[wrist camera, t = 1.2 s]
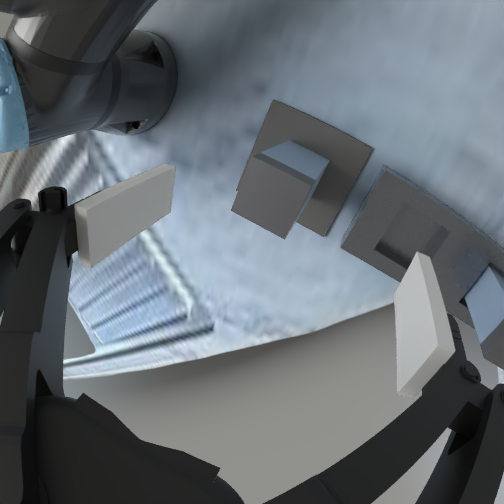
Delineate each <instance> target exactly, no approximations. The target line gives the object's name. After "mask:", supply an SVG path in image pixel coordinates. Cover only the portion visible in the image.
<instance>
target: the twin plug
mask: <svg viewBox="0 0 504 504" xmlns="http://www.w3.org/2000/svg"><path fill="white" fill-rule="evenodd" d="M464 297H465V300H466V303H467V306H468V308H469V311H470V314H471V317H472V320H473V323H474V326H475V329H476V332H477V336H478V339H479V342H480V346H481V349H482V353H483V356H484V358H485V359H487V360H489V361H490V362H492V363H493V364H495V365H497V366H498V367H500V368H502V369H503V370H504V275H503V274H502V273H500V272H499V271H498V270H497V269H495V268H494V267H493V266H492V265H490V264H488V265H487V267H486V268H485V269H484V271H483V272H482V273H481V275H480V276H479V277H478V278H477V280H476V281H475V282H474V284H473V285H472V286H471V287H470V289H469V290H468V291H467V292H466V294H465V295H464Z"/></svg>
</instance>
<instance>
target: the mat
mask: <svg viewBox="0 0 504 504" xmlns="http://www.w3.org/2000/svg"><path fill="white" fill-rule="evenodd" d="M288 140H290V141H292V142H294V143H296V144H298V145H300V146H303V147H305V148H307V149H309V150H311V151H313V152H314V153H316V154H318V155H320V156H322V157H324V158H326V159H328V160H330V161H329V163H328V165H327V167H326V169H325V171H324V173H323V175H322V177H321V179H320V181H319V183H318V185H317V187H316V189H315V191H314V193H313V195H312V197H311V199H310V200H309V202H308V203H307V205H306V207H305V208H304V210H303V211H302V213H301V215H300V216H299V218H298V219H297V221H296V222H297V223H299V224H301V225H303V226H305V227H306V228H308V229H310V230H312V231H314V232H316V233H317V234H319V235H321V236H323V237H324V236H325V234H326V233H327V231H328V229H329V227H330V226H331V224H332V222H333V220H334V218H335V217H336V215H337V213H338V211H339V210H340V208H341V206H342V204H343V202H344V201H345V199H346V197H347V195H348V193H349V191H350V190H351V188H352V186H353V184H354V182H355V180H356V179H357V177H358V175H359V173H360V171H361V169H362V167H363V165H364V164H365V162H366V160H367V158H368V156H369V154H370V152H371V150H372V148H371V147H370V146H368V145H366V144H364V143H362V142H361V141H359V140H357V139H355V138H353V137H351V136H349V135H347V134H346V133H344V132H342V131H340V130H338V129H336V128H334V127H332V126H330V125H328V124H326V123H324V122H322V121H320V120H318V119H316V118H314V117H311V116H309V115H307V114H305V113H303V112H301V111H298V110H296V109H294V108H292V107H290V106H287V105H285V104H283V103H280V102H278V101H276V100H273V101H272V103H271V106H270V108H269V111H268V113H267V115H266V118H265V120H264V123H263V125H262V127H261V130H260V132H259V135H258V137H257V139H256V142H255V144H254V147H253V149H252V152H251V154H250V157H249V159H248V162H247V164H246V167H245V169H244V172H243V174H242V177H241V179H240V182H239V184H238V187H237V189H236V191H239V188H240V186H241V183H242V181H243V178H244V176H245V173H246V171H247V168H248V166H249V163H250V161H251V159H252V156H254V155H257V154H259V153H261V152H263V151H265V150H268V149H270V148H272V147H274V146H277V145H279V144H281V143H284V142H286V141H288Z"/></svg>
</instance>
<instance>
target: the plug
mask: <svg viewBox="0 0 504 504" xmlns="http://www.w3.org/2000/svg"><path fill="white" fill-rule="evenodd" d="M329 161H330V160H328V159H326V158H324V157H322V156H320V155H318V154H316V153H314V152H313V151H311V150H309V149H307V148H305V147H303V146H300V145H298V144H296V143H294V142H292V141H290V140H288V141H286V142H284V143H281V144H279V145H277V146H274V147H272V148H270V149H268V150H265V151H263V152H261V153H259V154H257V155H254V156H252V159H251V161H250V163H249V166H248V168H247V171H246V173H245V176H244V178H243V181H242V183H241V186H240V188H239V191H238V194H237V196H236V199H235V201H234V204H233V206H232V209H231V211H233V212H234V213H236V214H238V215H240V216H242V217H244V218H246V219H248V220H249V221H251V222H253V223H255V224H257V225H259V226H261V227H263V228H264V229H266V230H268V231H270V232H272V233H274V234H276V235H277V236H279V237H281V238H283V239H285V238H286V236H287V235H288V233H289V232H290V230H291V229H292V227H293V225H294V224H295V222H296V221H297V219H298V218H299V216H300V215H301V213H302V211H303V210H304V208H305V207H306V205H307V203H308V202H309V200H310V199H311V197H312V195H313V193H314V191H315V189H316V187H317V185H318V183H319V181H320V179H321V177H322V175H323V173H324V171H325V169H326V167H327V165H328V163H329Z"/></svg>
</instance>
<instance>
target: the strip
mask: <svg viewBox="0 0 504 504" xmlns="http://www.w3.org/2000/svg"><path fill="white" fill-rule="evenodd" d="M340 248H342V249H343V250H345V251H347V252H349V253H350V254H352V255H354V256H356V257H358V258H359V259H361V260H363V261H364V262H366V263H368V264H370V265H371V266H373V267H375V268H377V269H378V270H380V271H382V272H383V273H385V274H387V275H388V276H390V277H392V278H394V279H395V280H397V281H399V282H400V283H401V281H402V279H403V277H404V275H405V273H406V272H407V270H408V268H409V266H410V264H411V262H412V260H413V258H414V256H415V254H416V252H419V253H422V254H424V255H426V256H429V257H430V259H431V262H432V265H433V268H434V272H435V275H436V278H437V281H438V284H439V288H440V291H441V295H442V298H443V302H444V305H445V309H446V311H448V312H449V313H451V314H452V315H454V316H456V317H457V318H459V319H460V320H462V321H464V322H465V323H467V324H468V325H470V326H471V327H473V328H474V329H475V326H474V323H473V320H472V317H471V314H470V311H469V308H468V306H467V303H466V300H465V297H464V295H465V294H466V292H467V291H468V290H469V289H470V287H471V286H472V285H473V284H474V282H475V281H476V280H477V278H478V277H479V276H480V275H481V273H482V272H483V271H484V269H485V268H486V267H487V265H488V264H490V265H492V266H493V267H494V268H495V269H497V270H498V271H499V272H500V273H502V274H503V275H504V249H503V248H502V247H501V246H500V245H498V244H497V243H496V242H495V241H494V240H492V239H491V238H490V237H489V236H487V235H486V234H485V233H484V232H482V231H481V230H480V229H478V228H477V227H476V226H474V225H473V224H472V223H470V222H469V221H468V220H466V219H465V218H464V217H462V216H461V215H460V214H458V213H457V212H456V211H454V210H453V209H451V208H450V207H449V206H447V205H446V204H444V203H443V202H441V201H440V200H438V199H437V198H436V197H434V196H433V195H431V194H430V193H428V192H427V191H425V190H424V189H422V188H421V187H419V186H417V185H416V184H414V183H413V182H411V181H410V180H408V179H406V178H405V177H403V176H402V175H400V174H398V173H397V172H395V171H393V170H392V169H390V168H388V167H387V166H385V165H384V166H383V168H382V170H381V172H380V173H379V175H378V177H377V179H376V181H375V182H374V184H373V186H372V188H371V190H370V191H369V193H368V195H367V197H366V198H365V200H364V202H363V204H362V205H361V207H360V209H359V211H358V212H357V214H356V216H355V217H354V219H353V221H352V223H351V224H350V226H349V228H348V229H347V231H346V233H345V234H344V236H343V238H342V243H341V247H340Z"/></svg>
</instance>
